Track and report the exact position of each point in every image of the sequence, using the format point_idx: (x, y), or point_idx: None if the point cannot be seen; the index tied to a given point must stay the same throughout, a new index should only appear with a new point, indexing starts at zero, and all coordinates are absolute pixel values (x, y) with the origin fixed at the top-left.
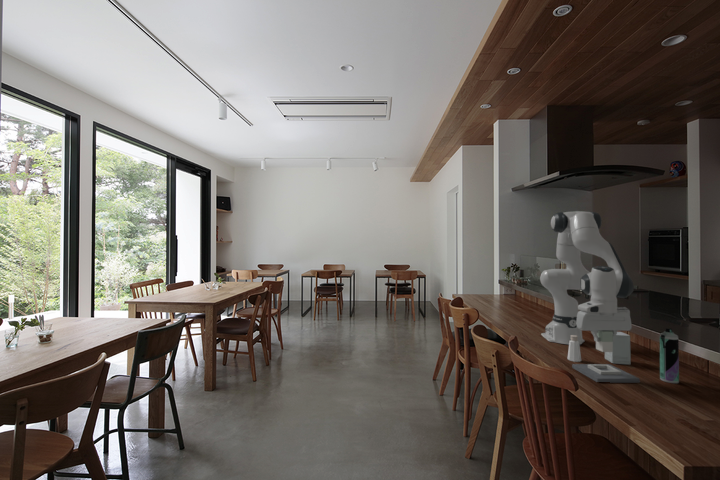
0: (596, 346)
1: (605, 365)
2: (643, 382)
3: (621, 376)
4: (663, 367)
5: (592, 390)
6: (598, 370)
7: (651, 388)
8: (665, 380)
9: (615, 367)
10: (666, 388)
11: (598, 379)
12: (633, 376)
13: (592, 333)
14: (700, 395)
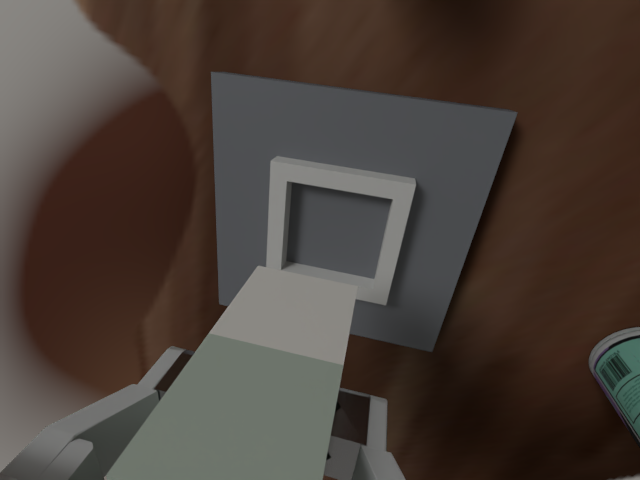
0: (247, 288)
1: (388, 197)
2: (453, 339)
3: (362, 311)
4: (637, 424)
5: (162, 340)
6: (266, 262)
7: (413, 386)
8: (591, 367)
9: (481, 188)
10: (483, 403)
11: (225, 302)
12: (430, 326)
13: (75, 426)
14: (541, 468)
